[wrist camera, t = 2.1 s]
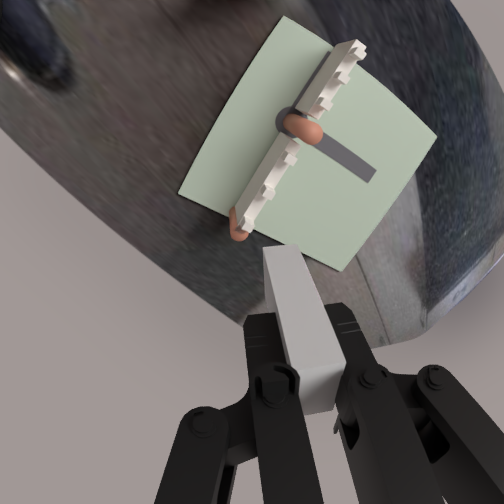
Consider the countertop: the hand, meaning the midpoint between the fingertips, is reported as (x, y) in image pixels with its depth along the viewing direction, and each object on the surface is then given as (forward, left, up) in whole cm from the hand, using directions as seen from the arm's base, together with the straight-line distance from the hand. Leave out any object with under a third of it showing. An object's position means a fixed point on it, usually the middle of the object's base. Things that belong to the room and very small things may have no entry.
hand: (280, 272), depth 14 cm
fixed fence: (+2, +11, -22) cm, 25 cm away
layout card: (+7, +5, -22) cm, 24 cm away
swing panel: (+2, -1, -21) cm, 21 cm away
